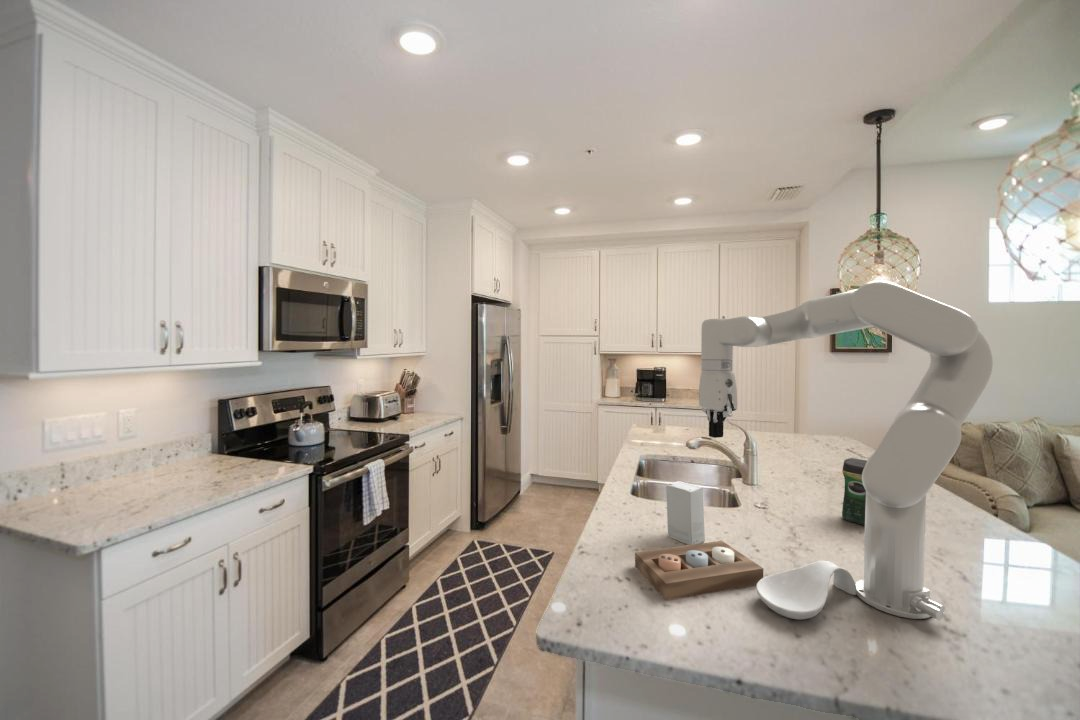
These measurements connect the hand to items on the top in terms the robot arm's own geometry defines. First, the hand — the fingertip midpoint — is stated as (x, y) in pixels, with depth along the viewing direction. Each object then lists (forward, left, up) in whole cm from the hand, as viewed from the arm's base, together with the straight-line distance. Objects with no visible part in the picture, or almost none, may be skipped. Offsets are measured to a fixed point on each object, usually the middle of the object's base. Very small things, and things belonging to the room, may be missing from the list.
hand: (716, 436), depth 112 cm
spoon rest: (-26, -3, -30) cm, 40 cm away
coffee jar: (+3, -53, -29) cm, 61 cm away
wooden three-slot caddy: (-11, +13, -29) cm, 34 cm away
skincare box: (+6, +5, -29) cm, 30 cm away
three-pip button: (-11, +20, -29) cm, 37 cm away
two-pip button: (-11, +13, -29) cm, 34 cm away
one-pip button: (-11, +6, -29) cm, 31 cm away
